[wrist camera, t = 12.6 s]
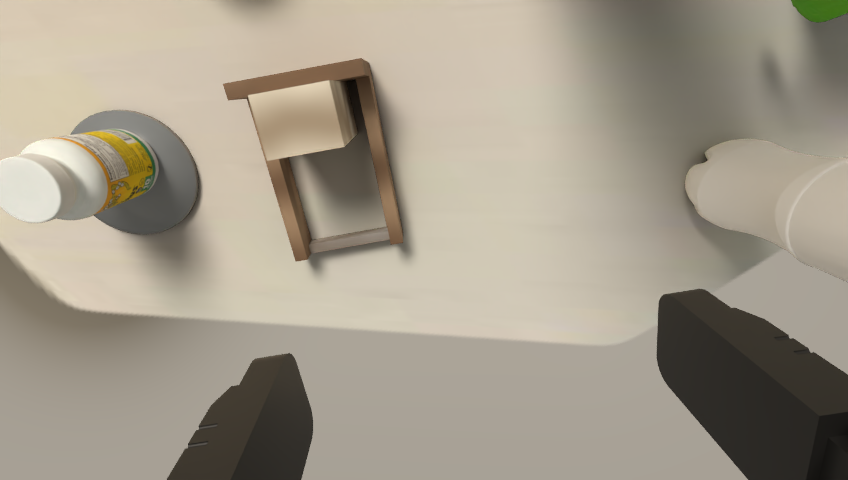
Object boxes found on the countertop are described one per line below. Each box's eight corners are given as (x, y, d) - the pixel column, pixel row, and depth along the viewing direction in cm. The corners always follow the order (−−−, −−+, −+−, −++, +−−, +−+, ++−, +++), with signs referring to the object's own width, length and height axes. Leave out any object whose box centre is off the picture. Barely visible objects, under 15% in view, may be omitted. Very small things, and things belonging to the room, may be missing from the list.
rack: (254, 84, 33) (209, 83, 26) (368, 62, 33) (357, 56, 25) (302, 250, 38) (277, 291, 30) (402, 232, 38) (402, 269, 30)
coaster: (47, 122, 33) (41, 123, 33) (172, 99, 33) (168, 99, 33) (102, 241, 37) (97, 243, 36) (215, 220, 37) (212, 222, 36)
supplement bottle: (137, 117, 33) (35, 130, 24) (174, 182, 35) (93, 216, 26) (76, 142, 33) (-47, 164, 24) (116, 205, 35) (16, 246, 26)
